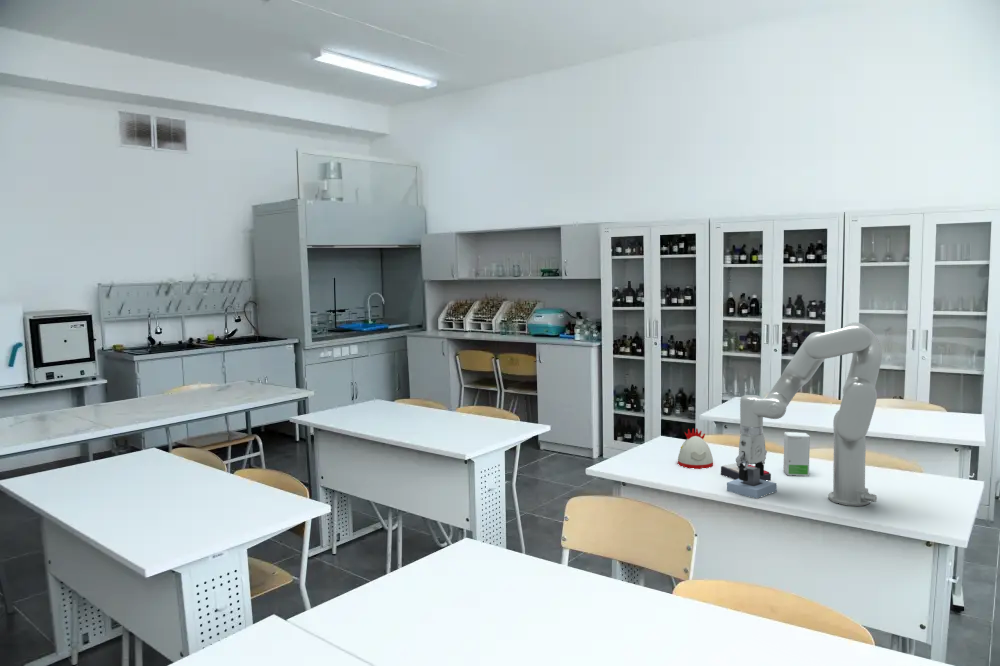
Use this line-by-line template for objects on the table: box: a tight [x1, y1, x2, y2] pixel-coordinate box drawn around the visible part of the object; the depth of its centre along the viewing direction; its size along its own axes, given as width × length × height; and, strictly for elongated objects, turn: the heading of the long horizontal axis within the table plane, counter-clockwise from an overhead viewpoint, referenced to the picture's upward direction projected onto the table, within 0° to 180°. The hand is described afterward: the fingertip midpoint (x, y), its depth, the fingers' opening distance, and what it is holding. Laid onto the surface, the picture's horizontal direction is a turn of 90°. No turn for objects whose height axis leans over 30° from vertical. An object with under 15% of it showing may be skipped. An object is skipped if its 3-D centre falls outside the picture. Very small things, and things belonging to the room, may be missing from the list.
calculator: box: [720, 462, 772, 481], centre depth 259 cm, size 11×4×15 cm
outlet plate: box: [726, 479, 778, 499], centre depth 243 cm, size 12×12×3 cm
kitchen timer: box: [677, 428, 714, 470], centre depth 279 cm, size 14×14×15 cm
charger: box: [743, 465, 760, 486], centre depth 242 cm, size 4×4×8 cm
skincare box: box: [782, 431, 811, 477], centre depth 261 cm, size 8×7×16 cm
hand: (751, 477), depth 242 cm, fingers open, 9 cm apart
